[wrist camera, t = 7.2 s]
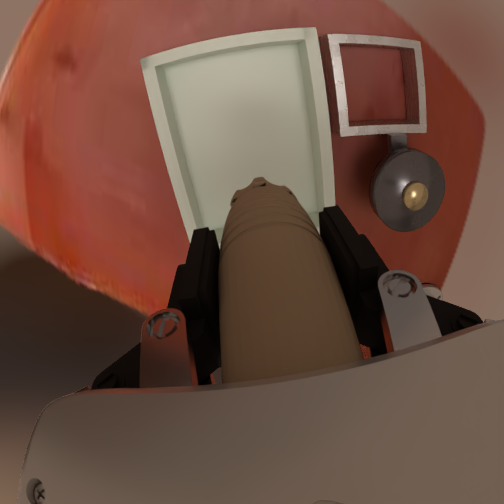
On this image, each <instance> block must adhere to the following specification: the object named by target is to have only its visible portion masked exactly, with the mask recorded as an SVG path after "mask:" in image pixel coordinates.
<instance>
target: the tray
mask: <svg viewBox="0 0 504 504" xmlns="http://www.w3.org/2000/svg"><path fill="white" fill-rule="evenodd" d="M140 61H141V66H142V71H143V75H144V80H145V84H146V88H147V92H148V97H149V101H150V105H151V109H152V113H153V117H154V121H155V125H156V129H157V133H158V136H159V140H160V144H161V147H162V151H163V155H164V158H165V162H166V165H167V169H168V173H169V176H170V179H171V183H172V186H173V190H174V193H175V196H176V200H177V203H178V206H179V209H180V213H181V216H182V219H183V222H184V225H185V229H186V232H187V235H188V238H189V241H190V243H191V238H192V234H193V231H194V229H199V228H205V227H208V228H209V230H214V231H215V234H216V237H217V241H218V245H219V248H220V245H221V239H222V235H223V230H224V225H225V222H226V219H227V216H228V213H229V211H230V209H231V206H230V203H231V199H232V197H233V195H234V194H235V192H236V191H237V190H241V189H244V188H245V187H247V186H248V185H250V184H251V182H252V181H253V179H254V178H257V177H264V178H265V180H267V181H268V182H270V183H272V184H275V185H278V186H286V187H288V188H289V189H290V190H291V191H292V192H293V194H294V195H295V196H296V198H297V200H298V202H299V203H300V204H301V206H302V207H303V208H304V210H305V211H306V212H307V214H308V215H309V217H310V219H311V220H312V222H313V223H314V225H315V227H316V228H317V230H318V232H319V234H320V229H319V212H322V211H323V208H324V207H331V206H335V186H334V169H333V155H332V143H331V132H330V121H329V112H328V103H327V95H326V87H325V80H324V73H323V66H322V60H321V54H320V48H319V42H318V37H317V31H316V27H311V28H290V29H277V30H267V31H259V32H251V33H244V34H238V35H232V36H226V37H221V38H215V39H211V40H206V41H201V42H197V43H193V44H189V45H185V46H181V47H178V48H174V49H170V50H167V51H164V52H160V53H157V54H154V55H151V56H148V57H145V58H142V59H140Z"/></svg>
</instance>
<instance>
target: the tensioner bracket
mask: <svg viewBox="0 0 504 504" xmlns="http://www.w3.org/2000/svg"><path fill="white" fill-rule="evenodd" d="M319 40H320V46H321V52H322V58H323V64H324V71H325V78H326V85H327V92H328V101H329V109H330V118H331V128H332V132H333V133H335V134H337V135H339V136H340V137H344V136H356V135H371V134H387V156H386V157H384V158H383V159H382V161H381V162H380V163H379V164H378V165H377V167H376V169H375V171H374V173H373V175H372V178H371V181H370V186H369V198H370V203H371V206H372V208H373V210H374V212H375V213H376V215H377V216H378V217H379V218H380V219H381V220H382V221H383V223H384V224H385V225H386V226H388V227H389V228H391V229H393V230H395V231H399V232H409V231H413V230H416V229H418V228H420V227H422V226H423V225H425V224H426V223H427V222H429V221H430V220H431V219H432V218H433V216H434V215H435V214H436V212H437V211H438V209H439V207H440V205H441V203H442V200H443V197H444V192H445V179H444V174H443V171H442V169H441V167H440V165H439V164H438V163H437V161H436V160H435V159H433V158H432V157H431V156H429V155H427V154H425V153H423V152H421V151H420V150H417V149H414V148H407V135H405V134H403V133H426V96H425V81H424V70H423V60H422V52H421V45H420V41H414V40H408V39H400V38H392V37H383V36H371V35H353V34H327V35H324V36H322V37H320V38H319ZM339 46H364V47H381V48H392V49H401V56H402V65H403V74H404V85H405V99H406V120H370V121H352V122H348V110H347V100H346V91H345V83H344V75H343V68H342V61H341V54H340V48H339Z"/></svg>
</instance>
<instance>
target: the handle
mask: <svg viewBox="0 0 504 504" xmlns="http://www.w3.org/2000/svg"><path fill="white" fill-rule="evenodd" d="M230 206H231V209H230V211H229V213H228V216H227V219H226V222H225V225H224V230H223V235H222V239H221V245H220V253H219V265H218V296H219V323H220V345H221V367H222V384H224V383H234V382H243V381H251V380H259V379H266V378H273V377H280V376H286V375H292V374H298V373H304V372H309V371H314V370H319V369H324V368H329V367H334V366H338V365H343V364H347V363H352V362H356V361H360V360H364V357H363V354H362V351H361V347H360V344H359V341H358V338H357V334H356V331H355V328H354V325H353V321H352V318H351V315H350V312H349V309H348V306H347V303H346V300H345V297H344V293H343V290H342V288H341V285H340V282H339V279H338V276H337V273H336V270H335V267H334V264H333V262H332V259H331V256H330V254H329V252H328V250H327V248H326V246H325V244H324V242H323V240H322V238H321V236H320V234H319V232H318V230H317V228H316V227H315V225H314V223H313V222H312V220H311V219H310V217H309V215H308V214H307V212H306V211H305V210H304V208H303V207H302V206H301V204H300V203H299V202H298V200H297V198H296V196H295V195H294V194H293V192H292V191H291V190H290V189H289V188H288V187H286V186H278V185H275V184H272V183H270V182H268V181H267V180H265V178H264V177H257V178H254V179H253V181H252V182H251V184H250V185H248V186H247V187H245V188H244V189H241V190H237V191H236V192H235V194H234V195H233V197H232V199H231V203H230Z"/></svg>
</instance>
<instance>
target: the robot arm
mask: <svg viewBox="0 0 504 504" xmlns="http://www.w3.org/2000/svg"><path fill="white" fill-rule="evenodd" d="M319 229H320V236H321V238H322V240H323V242H324V244H325V246H326V248H327V250H328V252H329V254H330V256H331V259H332V262H333V264H334V267H335V270H336V273H337V276H338V279H339V282H340V285H341V288H342V290H343V293H344V297H345V300H346V303H347V306H348V309H349V312H350V315H351V318H352V321H353V325H354V328H355V331H356V334H357V338H358V341H359V344H362V345H365V346H367V356H368V359H364V360H360V361H356V362H352V363H347V364H343V365H338V366H334V367H329V368H324V369H319V370H314V371H309V372H304V373H298V374H292V375H286V376H280V377H273V378H266V379H259V380H251V381H243V382H234V383H224V384H215V383H214V377H213V374H212V373H213V372H214V371H215V370H216V369H217V368H219V367H221V345H220V323H219V296H218V265H219V253H220V248H219V245H218V241H217V237H216V234H215V231H214V230H209V228H208V227H205V228H199V229H194V231H193V234H192V238H191V243H190V247H189V251H188V255H187V259H186V264H182V265H179V266H178V268H177V271H176V275H175V279H174V283H173V287H172V291H171V295H170V299H169V303H168V307H167V308H166V309H162V310H159V311H156V312H155V313H153V314H151V315H150V316H149V317H148V318H147V319H146V321H145V322H144V324H143V327H142V332H141V342H140V343H139V344H138V345H136V346H135V347H134V348H132V349H131V350H130V351H128V352H127V353H126V354H125V355H123V356H122V357H121V358H119V359H118V360H117V361H116V362H114V363H113V364H112V365H110V366H109V367H108V368H106V369H105V370H104V371H102V372H101V373H100V374H99V375H98V376H97V377H96V379H95V380H94V382H93V385H92V388H89V387H88V386H86V387H84V388H82V389H80V390H79V391H77V392H75V393H73V394H70V395H67V396H64V397H60V398H58V399H56V400H54V401H53V402H51V403H49V404H48V405H47V406H46V407H45V408H44V409H43V411H42V412H41V414H40V416H39V418H38V419H37V422H36V424H35V426H34V429H33V431H32V434H31V437H30V440H29V443H28V447H27V451H26V454H25V458H24V463H23V467H22V472H21V477H20V483H19V491H18V498H17V504H504V320H497V321H495V320H489V319H485V321H484V322H483V321H482V320H481V318H480V317H479V316H478V315H477V314H476V313H474V312H472V311H470V310H467V309H464V308H462V307H459V306H456V305H453V304H450V303H448V302H445V301H443V296H442V293H441V291H440V290H439V289H438V287H436V286H435V285H432V284H423V285H422V284H421V282H420V281H419V279H418V278H417V277H416V276H414V275H413V274H411V273H409V272H406V271H402V270H392V271H389V270H388V268H387V267H386V265H385V264H384V262H383V261H382V259H381V258H380V256H379V255H378V253H377V252H376V250H375V249H374V247H373V246H372V244H371V243H370V241H369V240H368V239H367V237H366V236H365V235H363V234H361V235H358V233H357V232H356V230H355V229H354V227H353V226H352V225H351V223H350V222H349V220H348V219H347V217H346V216H345V215H344V213H343V212H342V210H341V209H340V208H339V206H338V205H337V206H331V207H324V208H323V211H322V212H319Z"/></svg>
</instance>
